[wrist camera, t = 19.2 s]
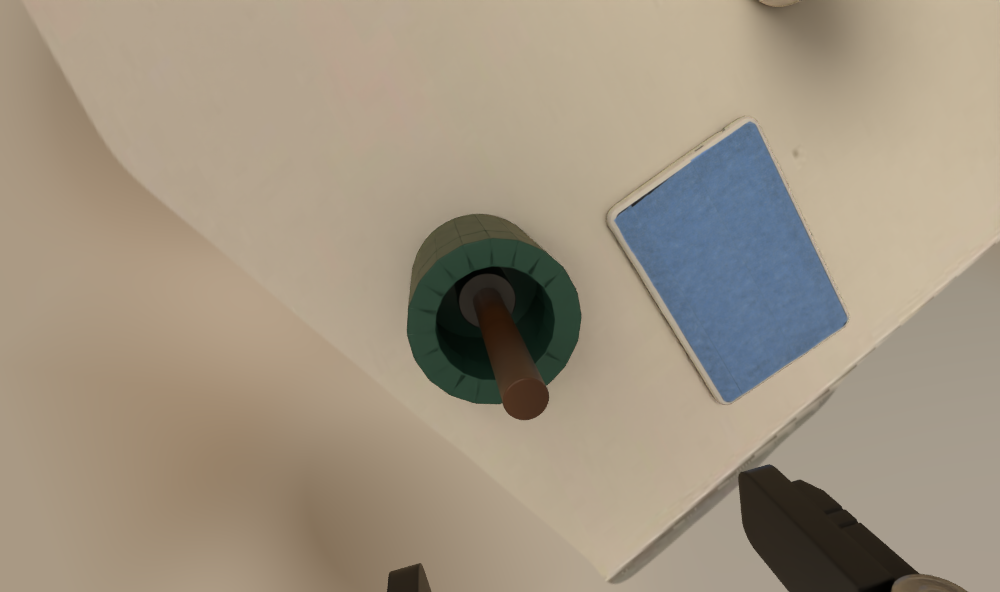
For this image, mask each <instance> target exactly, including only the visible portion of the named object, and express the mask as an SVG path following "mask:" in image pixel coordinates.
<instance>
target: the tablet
mask: <svg viewBox="0 0 1000 592" xmlns="http://www.w3.org/2000/svg"><path fill="white" fill-rule="evenodd" d="M607 224H608V226H609V228H610V229H611V231H612V232H613V234H614V235H615V237H616V239H617V240H618V242H619V244H620V245H621V247H622V248H623V250H624V251H625V253H626V255H627V256H628V258H629V259H630V261H631V263H632V264H633V266H634V267H635V269H636V270H637V272H638V274H639V275H640V277H641V279H642V280H643V282H644V284H645V285H646V287H647V289H648V290H649V292H650V293H651V295H652V297H653V298H654V300H655V302H656V303H657V305H658V307H659V308H660V310H661V311H662V313H663V315H664V316H665V318H666V320H667V321H668V323H669V324H670V326H671V328H672V329H673V331H674V333H675V334H676V336H677V337H678V339H679V341H680V342H681V344H682V346H683V347H684V349H685V350H686V352H687V354H688V355H689V357H690V358H691V360H692V362H693V363H694V365H695V367H696V368H697V370H698V372H699V373H700V375H701V377H702V378H703V380H704V381H705V383H706V385H707V386H708V388H709V390H710V391H711V393H712V395H713V396H714V398H715V400H716V401H717V402H719V403H721V404H724V405H729V404H732V403H734V402H735V401H737V400H738V399H740V398H741V397H742V396H744V395H745V394H747V393H748V392H750V391H751V390H753V389H754V388H756V387H757V386H759V385H760V384H762V383H763V382H765V381H766V380H768V379H769V378H771V377H772V376H774V375H775V374H777V373H778V372H779V371H781V370H782V369H784V368H785V367H787V366H788V365H790V364H791V363H793V362H794V361H796V360H797V359H799V358H800V357H802V356H803V355H805V354H806V353H808V352H809V351H811V350H812V349H814V348H815V347H817V346H818V345H820V344H821V343H822V342H824V341H825V340H827V339H828V338H830V337H831V336H833V335H834V334H836V333H837V332H839V331H840V330H842V329H843V328H845V326H846V325H847V324H848V322H849V313H848V311H847V309H846V306H845V304H844V302H843V300H842V298H841V296H840V294H839V292H838V289H837V287H836V285H835V283H834V281H833V279H832V277H831V275H830V273H829V271H828V268H827V266H826V264H825V262H824V260H823V258H822V256H821V254H820V251H819V249H818V247H817V245H816V243H815V241H814V239H813V237H812V234H811V232H810V230H809V228H808V226H807V224H806V222H805V220H804V218H803V216H802V213H801V211H800V209H799V207H798V205H797V203H796V201H795V199H794V197H793V194H792V192H791V190H790V188H789V185H788V183H787V181H786V179H785V177H784V175H783V173H782V170H781V168H780V166H779V164H778V162H777V161H776V159H775V157H774V154H773V152H772V150H771V148H770V146H769V144H768V142H767V139H766V137H765V135H764V133H763V131H762V129H761V127H760V125H759V123H758V121H757V120H756V119H754V118H752V117H750V116H743V117H740V118H738V119H736V120H735V121H733V122H732V123H731V124H729V125H728V126H726V127H725V128H723V130H722V132H720V133H719V132H717V133H716V134H714V135H713V136H711V137H710V138H709V139H707V140H706V141H704V142H703V143H701V144H700V145H698V146H697V147H696V148H694V149H693V150H691V151H690V152H688V153H687V154H685V155H684V156H682V157H681V158H680V159H678V160H677V161H675V162H674V163H673V164H671V165H670V166H668V167H667V168H666V169H664V170H663V171H661V172H660V173H659V174H657V175H656V176H654V177H653V178H652V179H650V180H649V181H647V182H646V183H645V184H643V185H642V186H640V187H639V188H638V189H636V190H635V191H634V192H632V193H631V194H629V195H628V196H627V197H625V198H624V199H622V200H621V201H620V202H618V203H617V204H616V205H614V206H613V207H612V208H611V209H610V210H609V212H608V213H607Z"/></svg>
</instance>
